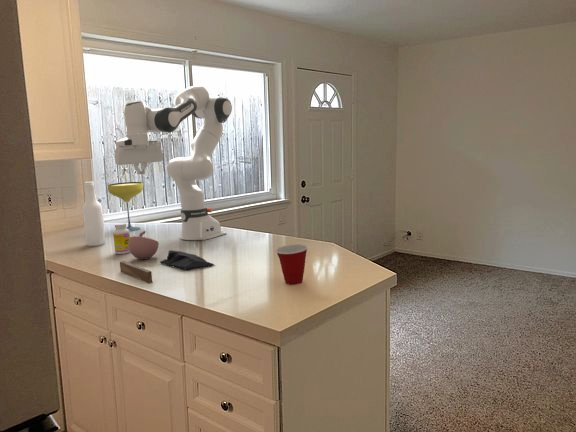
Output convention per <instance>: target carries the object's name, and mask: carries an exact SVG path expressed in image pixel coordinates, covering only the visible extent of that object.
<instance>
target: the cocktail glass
mask: <svg viewBox="0 0 576 432" xmlns="http://www.w3.org/2000/svg"><path fill="white" fill-rule="evenodd" d="M143 190H144V184H143V182H142V181H127V182H115V183H110V184H108V185H107V191H108V193H109V194H110V195H111V196H114V197H116V198H119V199H121V200H122V201H123V202H124V203H126V209H127V221H128V223H127V226H126V229H128V230H129V232H134V231H135V230H136V231H139V230H140V229H141V227H139V226H132V224H131V219H130V213H129V202H130V201H131V200H132V199H133V198H134V197H136V196H137V195H139V194H140V193H141V192H142V191H143Z"/></svg>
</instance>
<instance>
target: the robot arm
mask: <svg viewBox="0 0 576 432" xmlns="http://www.w3.org/2000/svg"><path fill="white" fill-rule="evenodd" d="M210 94H211V93H210V92H209V90H208V89H207V87H206V86H204V85H202V84H196V85H192V86H189V87H187V88H184V89H183V90H180V91H179V92H178V93H177V94H175V96H174V99H173V104H174V107H163V108H154V109H153V108H151V107H149V106H147V105H146V104H145V102H144V101H143V100H136V101H130V102H127V103H126V104H125V105H124V110H123V111H124V124H125V127H126V132H125V134H126V136H125V137H124V138H121V139H119V140H116V141H115V146H116V147H115V149H114V162H115V164H116V165H118V166H123V165H133V168H134V169H135V170H136V175H145V174H146V169H147V166H148V164H149V163H158V162H163V161H164V154H163V150H162V143H161V142H160V141H159V140H158V139H154V140H153V139H150V138H149V135H150V134H149V133H173V132H174V131H176V130H177V128H178V127H179V125H180V124H181V123H182V122H183V121H184V120H185V119H187V118H188V117H189V116H191V115H192V116H193V117H194V118H196V119H204V121H203V124H202V126H200V128H199V130H198V131H197V132H196V134H195V137H194V138H193V140H192V141H191V142H190V143H191V144H190V147H191V150H192V154H191V155H190V156H179V157H178V156H177V157H175V158H172V159H170V160H169V161H168V162H167V166H166V167H167V169H166V170H167V174H168V176H169V177H171V178H172V179H173V181H174V182H175V185H176V187H177V189H178V192H179V198H180V199H179V200H180V207H181V209H180V217H181V218H180V219H181V235H180V239H181V240H184V241H197V240H198V241H199V240H201V241H204V240H205V241H206V240H210V239H213V238H215V237H216V238H217V237H220V236H223V235H226V234H227V232H226V230H224V229H222V227H221V223H220V222H219V220H217V219H216V218H214V217H212V216H211V215H209V213H212V211H213V209H212V208H210V207H208V208H207V207H205V194H204V191H203V189H201V188H200V187H199V186H198V183H197V182H196V181H205V180H207V179H210V178H211V177H212V176H213V173H214V164H213V162H212V155H213V154H214V151H215V149H216V148H217V146H218V144H219V142H220V140H221V138H222V135H223V133H224V128H225V127H224V123H225V122H227V121H228V118H229V117H230V115H232V114H231V113H232V110H233V105H232V103H231V101H230V99H229V98H227V97H225V96H216V95H213V96H212V95H210ZM140 164H141V166H142V167H141V169H140V168H139V167H140Z"/></svg>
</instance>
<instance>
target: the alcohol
mask: <svg viewBox="0 0 576 432" xmlns="http://www.w3.org/2000/svg"><path fill="white" fill-rule="evenodd" d="M84 186H85V188H84V189H85V202H84V204H83V205H82V207H81V211H82V219H83V220H82V221H83V228H84V236H85V237H84V238H85V244H86V245H87V247H99V246H103V245H105V244H106V242H107V240H106V230H105V223H104V213H103V212H104V210H103V206H102V204H101V203H100V201H99V200H98V199H97V195H96V190H95V182H94V181H93V180H91V181H85V182H84Z"/></svg>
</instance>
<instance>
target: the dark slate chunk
mask: <svg viewBox="0 0 576 432" xmlns="http://www.w3.org/2000/svg"><path fill="white" fill-rule="evenodd" d="M159 263H160V265H161V264H162V265H165V266H168V267H169V268H175V269H178V270H180V271H181V270H182V271H192V270H197V269H205V268H211V267H214V266H216V265H215V264H214V263H213V262H209V261H207V260H206V259H204V258H203V257H201V256H199V255H197V254H193V253H189V252H184V251H179V250H172V249H171V250H168V254H167V257H166V259H163V260H160V262H159Z"/></svg>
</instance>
